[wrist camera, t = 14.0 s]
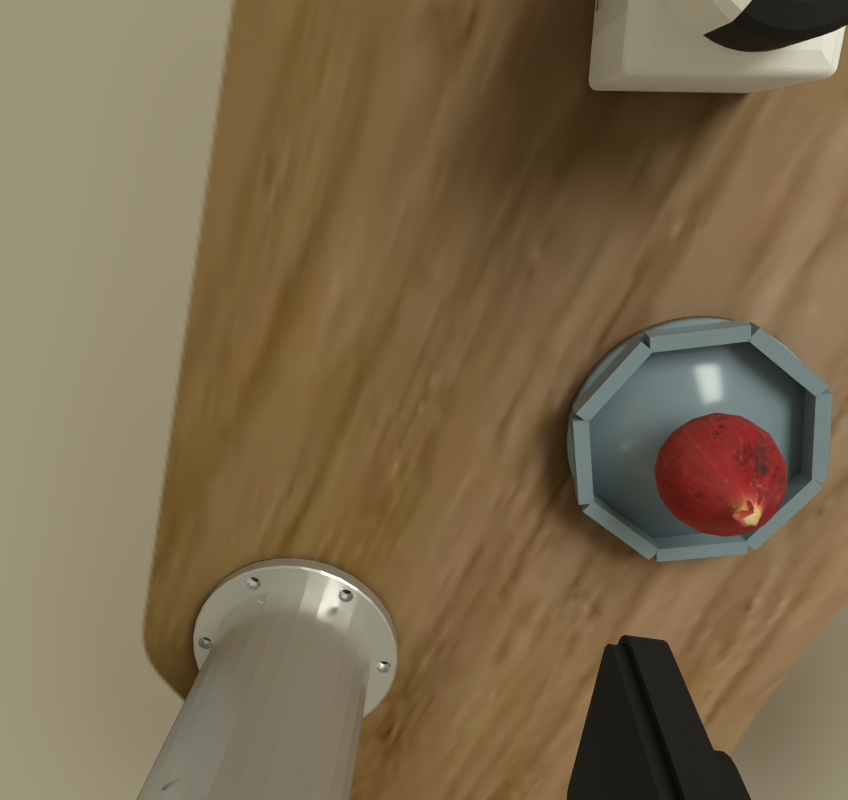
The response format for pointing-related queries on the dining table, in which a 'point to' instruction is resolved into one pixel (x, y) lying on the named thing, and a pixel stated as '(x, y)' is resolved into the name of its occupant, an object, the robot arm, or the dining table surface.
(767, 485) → the onion
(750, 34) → the container
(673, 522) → the dish
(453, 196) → the dining table surface
